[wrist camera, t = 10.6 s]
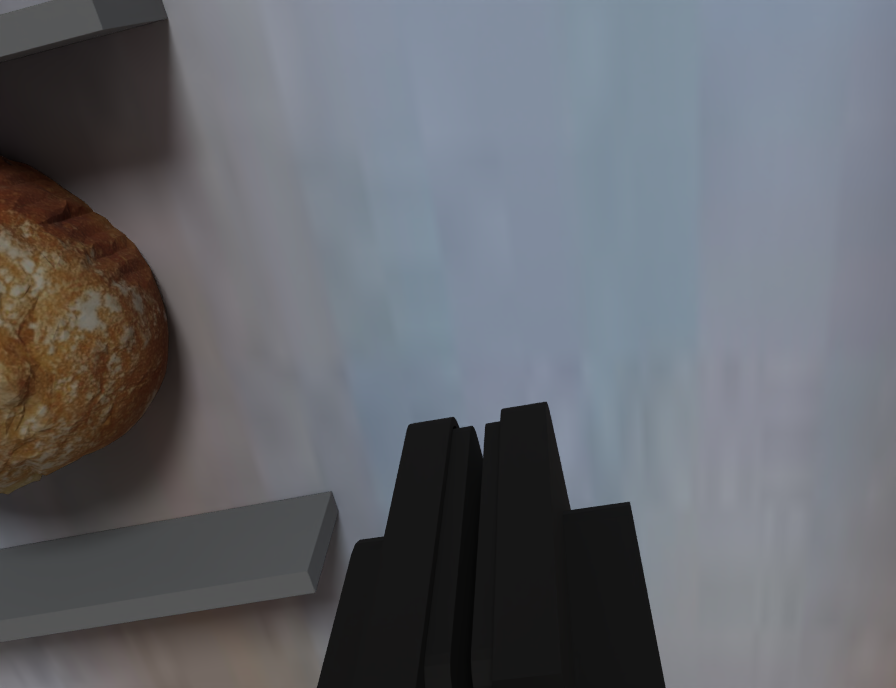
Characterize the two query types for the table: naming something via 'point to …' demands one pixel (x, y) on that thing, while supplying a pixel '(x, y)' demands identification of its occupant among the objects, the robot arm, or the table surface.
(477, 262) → the table surface
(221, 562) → the bin
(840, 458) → the table surface
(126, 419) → the bread roll
